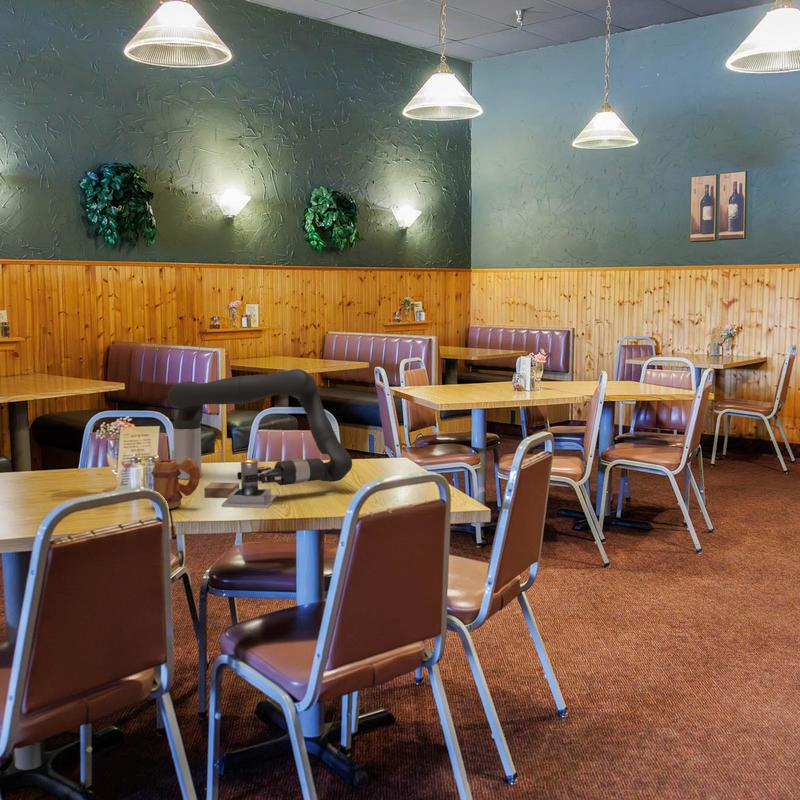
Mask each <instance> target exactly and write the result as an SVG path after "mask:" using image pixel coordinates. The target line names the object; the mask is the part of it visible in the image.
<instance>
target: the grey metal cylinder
mask: <svg viewBox="0 0 800 800" xmlns="http://www.w3.org/2000/svg"><path fill="white" fill-rule="evenodd" d="M258 462H259V460H258V459H257V458H242V459H240V472H241V480H240V481H241V482H240V483H241V488H240V489H241V491H242V495H255V496H258V489H259V482H249V483H246V482H244V476H245V475H253V474H258V468H259V467H258V466H259V463H258Z"/></svg>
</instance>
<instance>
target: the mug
mask: <svg viewBox="0 0 800 800" xmlns="http://www.w3.org/2000/svg"><path fill="white" fill-rule="evenodd" d="M180 470H183V471H184V472H186V473H187V474H189V475H190V476H189V479H188V482H186V483H187V484H186V485H185V484H182V483H180V482H179V478H178V476H179V475H180V474H181V472H180ZM150 473H151V475H152V476H153V484H154V485H153V488H154V491H157V492H159V493H160V494H161V495H162V496H163V497H164V498H165V500H166V501H167V503H168V506H169V509H168V510H170V509H175V508H177V507H179V506H180V505H181V504H182V498H183V496H186V497H189V496H191V495H192V494H193V493H194V492H195V491H196V489H197V488H198V486H199V484H200V479H201V477H200V470H199V468H198V465H197V464H196V462H195V461H194V460H193V459H191V458H188V459H186V460H184V461H183V462H181V463H177V462H176V460H172V459H169V458H168V459H156V460H154V468H153V470H152V471H151V472H150ZM154 491H153V492H154Z"/></svg>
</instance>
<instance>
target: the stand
mask: <svg viewBox="0 0 800 800" xmlns="http://www.w3.org/2000/svg"><path fill="white" fill-rule="evenodd" d="M235 489H240V482H225V481H223V482H219V481H218V482H217V481H215V482H214V481H212V482H210V483H208V484H207V485H206V486H205V487H204V489H203V490H204V498H213V499H214V498H217V499H218V498H219V499H221V498H222V499H228V496H229V495H230V494H231V493H232V492H233V491H234V490H235Z"/></svg>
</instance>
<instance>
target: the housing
mask: <svg viewBox="0 0 800 800" xmlns="http://www.w3.org/2000/svg"><path fill="white" fill-rule="evenodd" d="M277 498H278V495H277V494H272V491H271V488H258V496H255V495H242V491H241V488H239V489H235V490H234V491H233V492H232V493H231V494H230V495H229V496H228V498H226V499H225V500H224V501H223V502H222V503H221V507H222V508H260V509H261V508H262V509H263V508H266V509H269V507H271V506H272V504H273V503H274V502H275V500H276V499H277Z"/></svg>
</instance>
